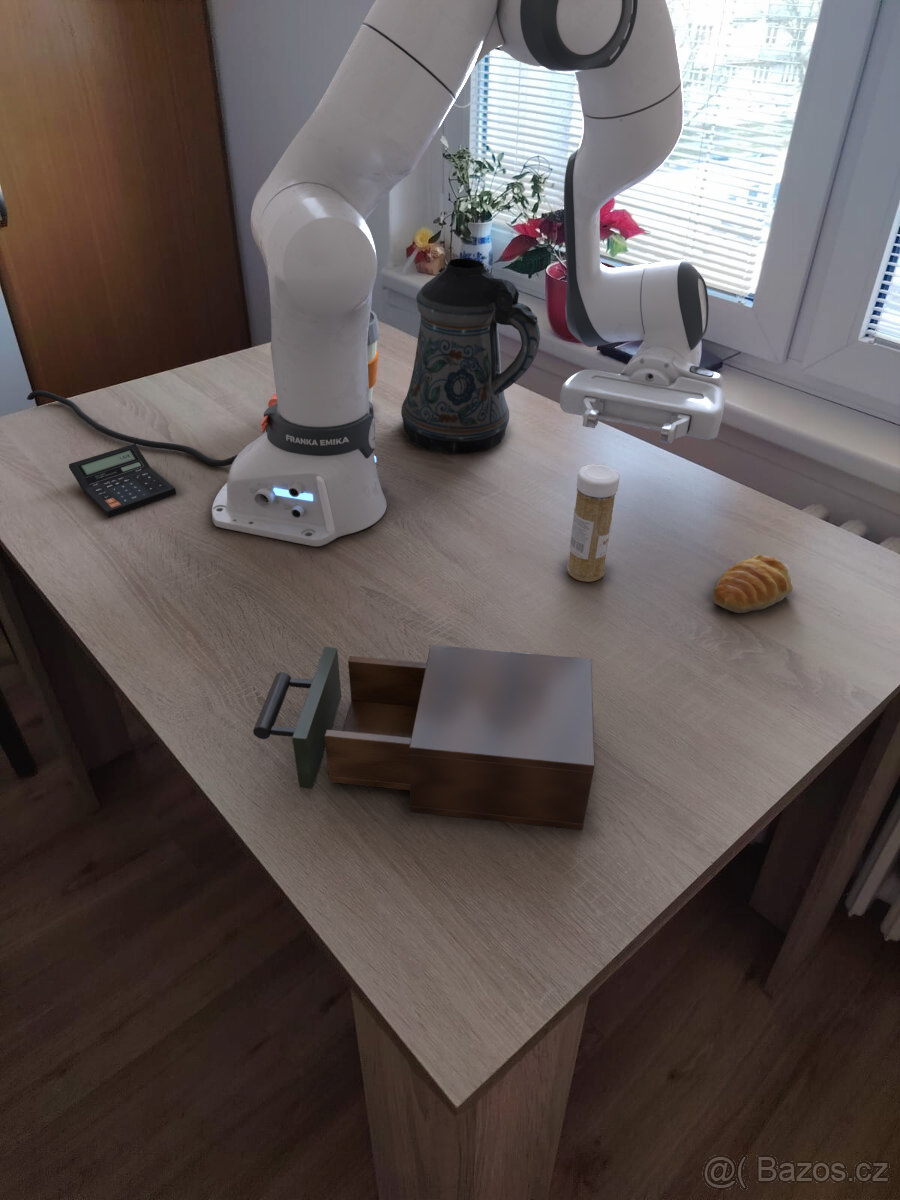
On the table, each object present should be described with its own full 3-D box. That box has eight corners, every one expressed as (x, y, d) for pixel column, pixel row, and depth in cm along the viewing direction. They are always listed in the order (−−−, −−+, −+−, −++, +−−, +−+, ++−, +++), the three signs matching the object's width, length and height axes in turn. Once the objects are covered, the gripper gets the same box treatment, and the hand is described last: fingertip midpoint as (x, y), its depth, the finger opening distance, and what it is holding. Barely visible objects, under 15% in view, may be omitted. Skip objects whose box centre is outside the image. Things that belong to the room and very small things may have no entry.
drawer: (251, 783, 71) (241, 732, 67) (286, 691, 80) (279, 642, 76) (454, 804, 70) (456, 754, 66) (468, 708, 79) (470, 659, 75)
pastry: (745, 627, 91) (753, 599, 88) (695, 598, 95) (702, 570, 92) (794, 595, 95) (803, 568, 93) (744, 569, 100) (752, 542, 97)
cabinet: (410, 812, 70) (409, 747, 65) (430, 707, 80) (430, 644, 75) (582, 830, 69) (594, 765, 64) (581, 721, 79) (591, 658, 74)
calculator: (108, 517, 106) (103, 497, 104) (73, 482, 113) (67, 462, 111) (176, 493, 111) (172, 474, 109) (138, 461, 118) (134, 442, 116)
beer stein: (400, 408, 133) (397, 245, 118) (520, 407, 134) (532, 245, 119) (402, 456, 120) (398, 281, 105) (534, 455, 121) (550, 281, 106)
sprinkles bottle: (610, 580, 97) (626, 480, 89) (573, 585, 96) (586, 484, 88) (596, 559, 101) (610, 460, 92) (560, 563, 100) (572, 464, 91)
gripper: (579, 350, 110) (546, 389, 100) (735, 376, 104) (717, 420, 94) (574, 394, 114) (542, 436, 104) (724, 422, 108) (706, 469, 98)
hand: (626, 429), depth 99 cm, fingers open, 8 cm apart
